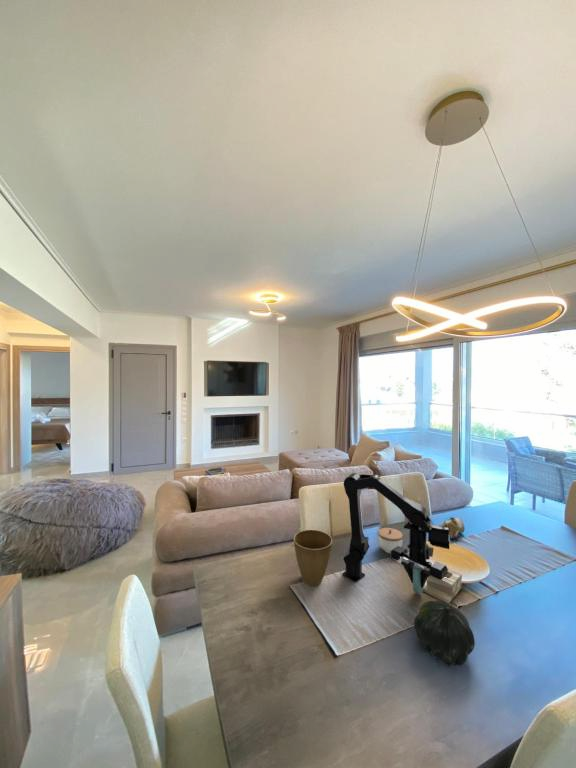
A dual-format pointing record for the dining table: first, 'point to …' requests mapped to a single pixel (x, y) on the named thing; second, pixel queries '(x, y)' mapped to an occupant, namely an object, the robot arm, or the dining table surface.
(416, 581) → the peg
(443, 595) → the socket board
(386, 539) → the lidded jar
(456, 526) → the ceramic sculpture
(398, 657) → the dining table surface
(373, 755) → the dining table surface
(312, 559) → the plant pot
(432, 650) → the squash
